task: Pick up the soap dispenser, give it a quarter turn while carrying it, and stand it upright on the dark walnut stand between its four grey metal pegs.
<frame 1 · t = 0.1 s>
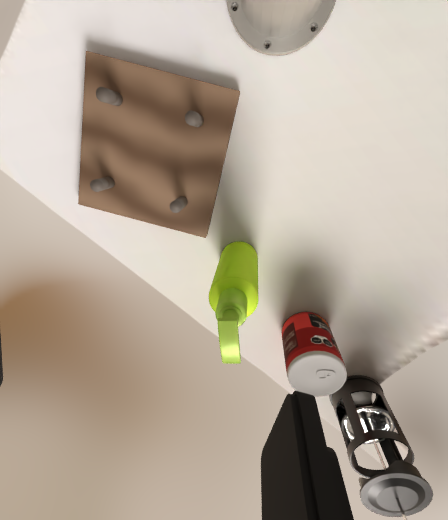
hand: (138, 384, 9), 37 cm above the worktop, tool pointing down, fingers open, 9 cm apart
canned food: (304, 328, 51), on the worktop
peg stand: (154, 152, 42), on the worktop
soap dispenser: (239, 261, 47), on the worktop
french press: (357, 395, 55), on the worktop
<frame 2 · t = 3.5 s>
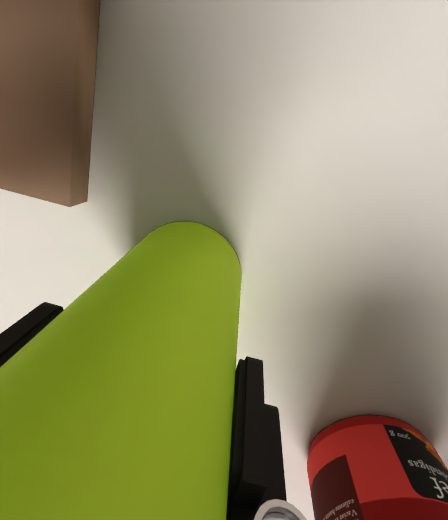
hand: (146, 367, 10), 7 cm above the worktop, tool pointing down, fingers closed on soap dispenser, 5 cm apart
canned food: (365, 450, 20), on the worktop
soap dispenser: (189, 281, 16), on the worktop, touching gripper
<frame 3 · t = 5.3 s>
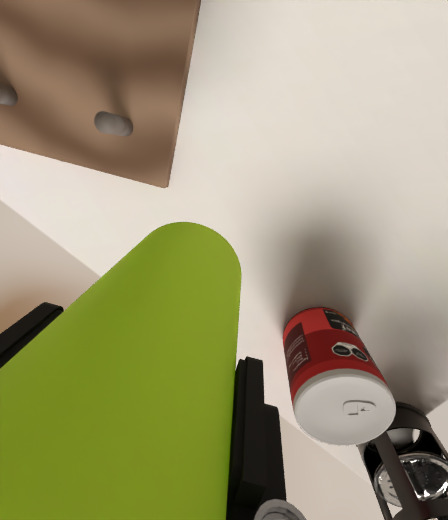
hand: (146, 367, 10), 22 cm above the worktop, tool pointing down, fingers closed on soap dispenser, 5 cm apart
canned food: (316, 333, 34), on the worktop
peg stand: (80, 47, 26), on the worktop
soap dispenser: (189, 281, 16), point 15 cm above the worktop, touching gripper
french press: (391, 431, 38), on the worktop
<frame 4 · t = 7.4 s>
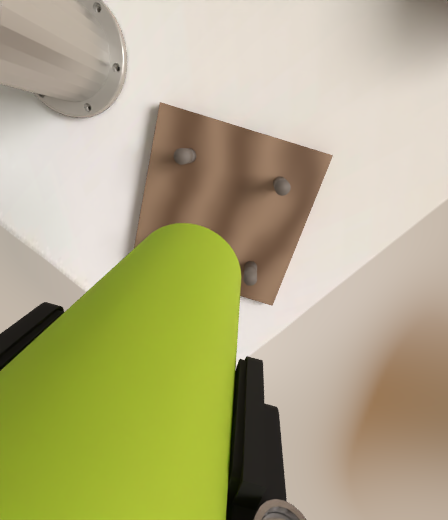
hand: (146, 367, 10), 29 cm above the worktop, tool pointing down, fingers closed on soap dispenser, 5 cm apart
peg stand: (223, 211, 38), on the worktop
soap dispenser: (189, 282, 16), point 23 cm above the worktop, touching gripper
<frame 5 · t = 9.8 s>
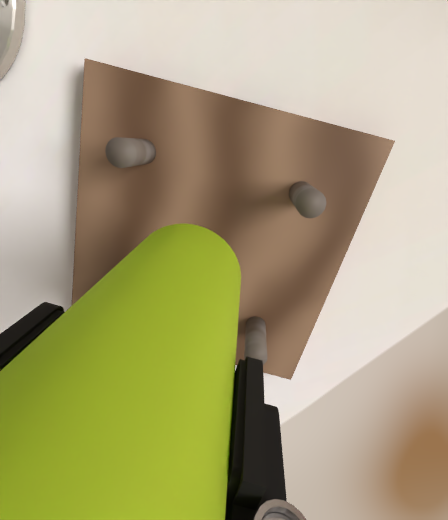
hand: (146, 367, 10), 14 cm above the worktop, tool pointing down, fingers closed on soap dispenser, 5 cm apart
peg stand: (208, 240, 23), on the worktop
soap dispenser: (188, 282, 16), point 8 cm above the worktop, touching gripper
when the fingers open (9 cm above the worktop, at t = 11.5 s): soap dispenser drops 1 cm, resting on peg stand.
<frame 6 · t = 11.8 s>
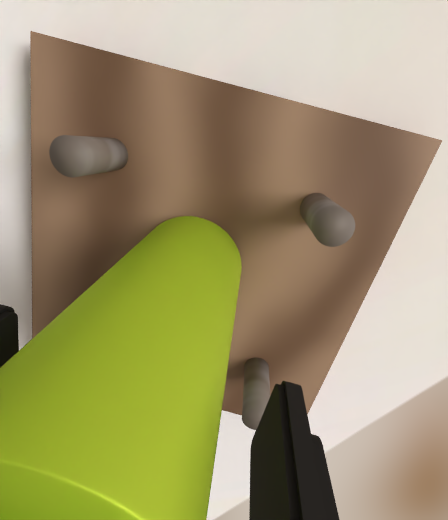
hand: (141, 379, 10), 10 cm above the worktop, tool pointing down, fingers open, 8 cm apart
peg stand: (197, 263, 19), on the worktop
soap dispenser: (193, 271, 18), point 1 cm above the worktop, touching peg stand
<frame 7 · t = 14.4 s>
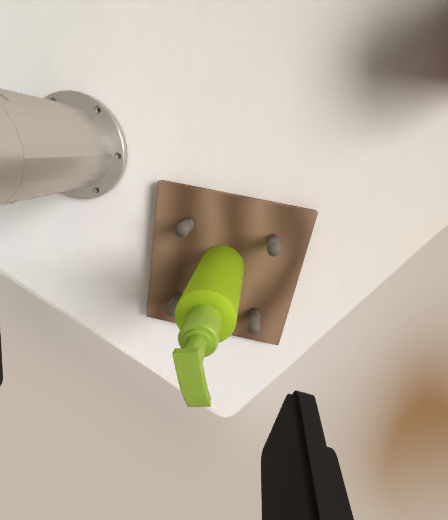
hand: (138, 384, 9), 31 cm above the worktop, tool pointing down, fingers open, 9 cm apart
peg stand: (224, 265, 41), on the worktop
soap dispenser: (223, 268, 40), point 1 cm above the worktop, touching peg stand
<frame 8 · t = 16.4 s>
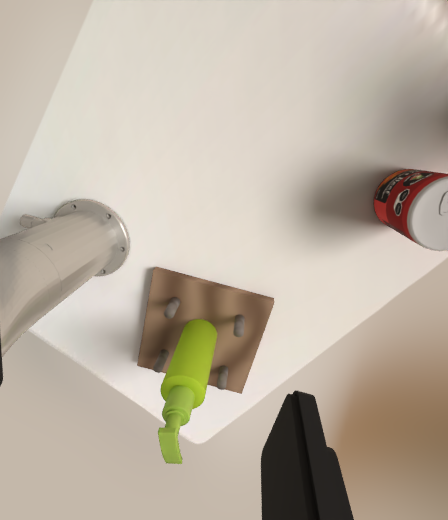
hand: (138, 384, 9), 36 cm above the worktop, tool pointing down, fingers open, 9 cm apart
canned food: (399, 198, 41), on the worktop
peg stand: (202, 331, 52), on the worktop
soap dispenser: (200, 335, 51), point 1 cm above the worktop, touching peg stand
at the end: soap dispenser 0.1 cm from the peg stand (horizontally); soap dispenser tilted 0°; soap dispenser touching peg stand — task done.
